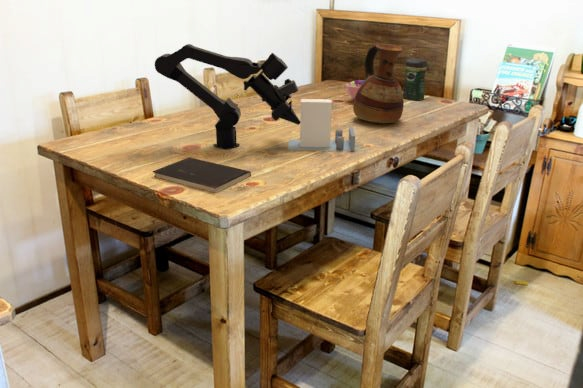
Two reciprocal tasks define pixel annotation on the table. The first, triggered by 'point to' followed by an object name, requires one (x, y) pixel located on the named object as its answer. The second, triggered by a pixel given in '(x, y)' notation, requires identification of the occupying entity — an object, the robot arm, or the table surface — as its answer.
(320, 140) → the panel
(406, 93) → the coffee jar
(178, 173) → the hardcover book
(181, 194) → the table surface
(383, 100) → the ceramic pitcher
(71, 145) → the table surface
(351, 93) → the cell model
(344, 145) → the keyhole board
